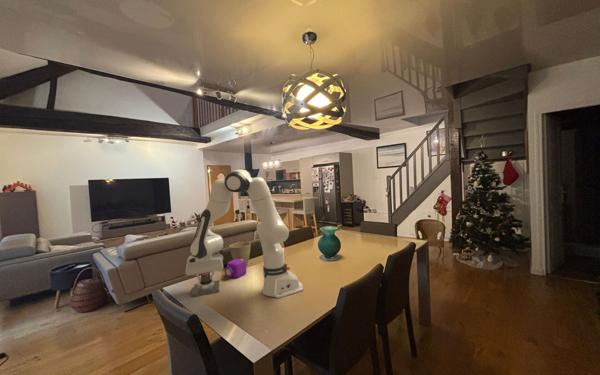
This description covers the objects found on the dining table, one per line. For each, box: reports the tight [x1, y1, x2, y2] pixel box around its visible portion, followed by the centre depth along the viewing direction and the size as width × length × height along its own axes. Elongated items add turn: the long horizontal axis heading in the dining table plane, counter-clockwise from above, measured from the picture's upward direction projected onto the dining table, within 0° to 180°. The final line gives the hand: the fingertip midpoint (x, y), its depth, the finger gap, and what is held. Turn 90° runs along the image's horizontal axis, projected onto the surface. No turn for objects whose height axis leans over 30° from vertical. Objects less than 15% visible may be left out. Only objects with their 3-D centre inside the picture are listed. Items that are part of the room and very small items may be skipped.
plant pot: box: [229, 241, 252, 267], centre depth 176 cm, size 15×15×16 cm
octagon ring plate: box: [191, 278, 220, 298], centre depth 141 cm, size 14×14×4 cm
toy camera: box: [224, 259, 247, 279], centre depth 158 cm, size 11×14×10 cm
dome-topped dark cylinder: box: [200, 272, 211, 284], centre depth 141 cm, size 5×5×8 cm
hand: (205, 279), depth 141 cm, fingers closed on dome-topped dark cylinder, 5 cm apart
